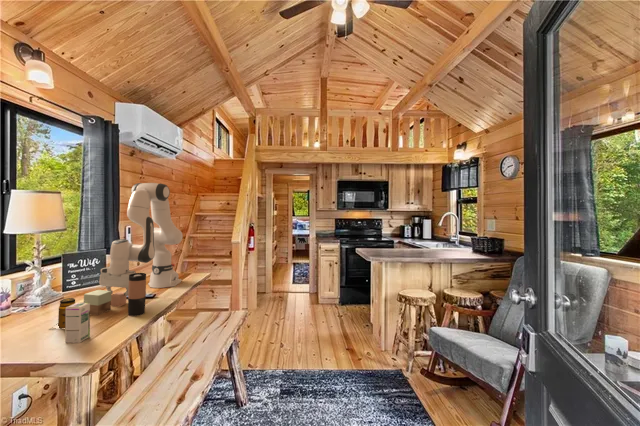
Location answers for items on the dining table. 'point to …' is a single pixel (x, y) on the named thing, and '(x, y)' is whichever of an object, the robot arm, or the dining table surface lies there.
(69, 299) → the condiment
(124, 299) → the block small
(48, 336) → the dining table surface
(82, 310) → the syrup box
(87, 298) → the block top
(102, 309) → the block low
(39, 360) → the dining table surface
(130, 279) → the travel mug
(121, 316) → the dining table surface
